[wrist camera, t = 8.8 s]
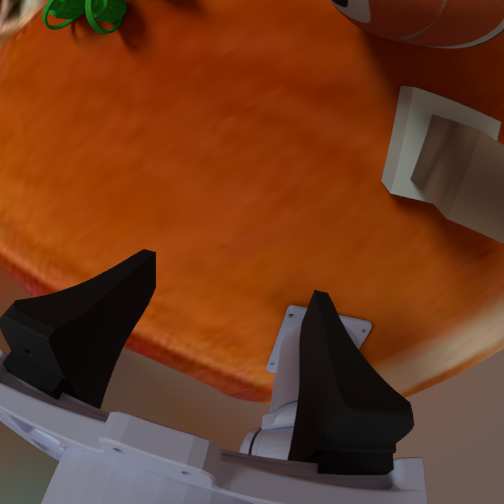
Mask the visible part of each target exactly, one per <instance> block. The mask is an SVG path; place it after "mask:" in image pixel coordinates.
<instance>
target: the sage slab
mask: <svg viewBox="0 0 504 504" xmlns="http://www.w3.org/2000/svg"><path fill="white" fill-rule="evenodd" d="M433 114H434V115H437V116H440V117H443V118H446V119H450V120H453V121H456V122H458V123H461V124H464V125H467V126H470V127H472V128H475V129H478V130H480V131H482V132H484V133H486V134H487V135H489V136H490V137H492V138H494V139H495V140H497V139H498V134H499V130H500V125H501V122H500V121H498V120H496V119H494V118H492V117H489V116H487V115H485V114H483V113H481V112H479V111H476V110H474V109H472V108H469V107H467V106H465V105H462V104H460V103H457V102H455V101H452V100H450V99H447V98H445V97H442V96H439V95H436V94H434V93H431V92H428V91H425V90H422V89H419V88H416V87H412V86H400V92H399V98H398V104H397V110H396V115H395V120H394V126H393V131H392V136H391V140H390V145H389V150H388V154H387V159H386V163H385V167H384V172H383V176H382V180H381V181H382V182H383V184H384V185H385V187H386V188H387V189H388V191H389V192H390V193H391V194H395V195H400V196H404V197H408V198H412V199H416V200H420V201H424V202H428V203H432V202H431V201H430V200H429V199H428V197H427V196H426V195H425V194H424V193H423V192H422V191H421V190H420V189H419V188H418V187H417V186H416V185H415V184H414V183H413V182H412V181H411V180H410V178H411V176H412V173H413V170H414V168H415V165H416V162H417V160H418V157H419V154H420V151H421V148H422V145H423V142H424V139H425V136H426V133H427V130H428V127H429V124H430V121H431V118H432V115H433ZM432 204H433V203H432Z"/></svg>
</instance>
